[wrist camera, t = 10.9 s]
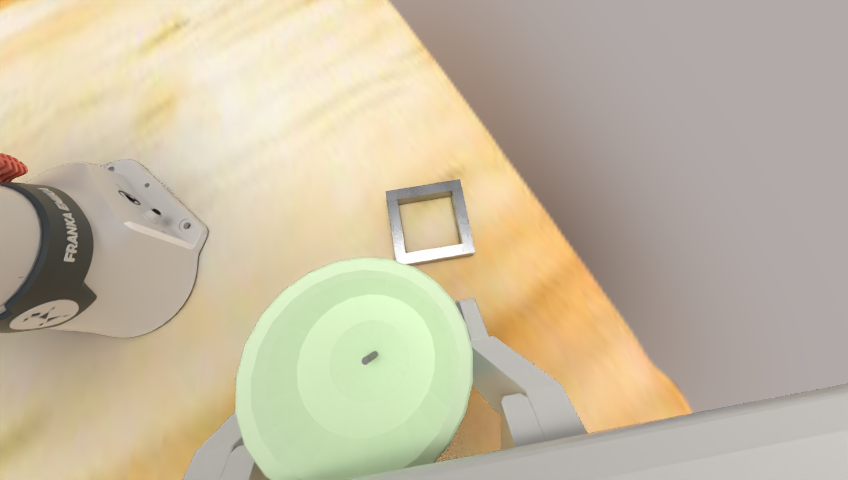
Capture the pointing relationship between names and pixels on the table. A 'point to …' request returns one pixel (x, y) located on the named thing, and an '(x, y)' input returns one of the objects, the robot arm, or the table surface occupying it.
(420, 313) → the candle
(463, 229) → the holder collar
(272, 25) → the table surface
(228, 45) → the table surface
